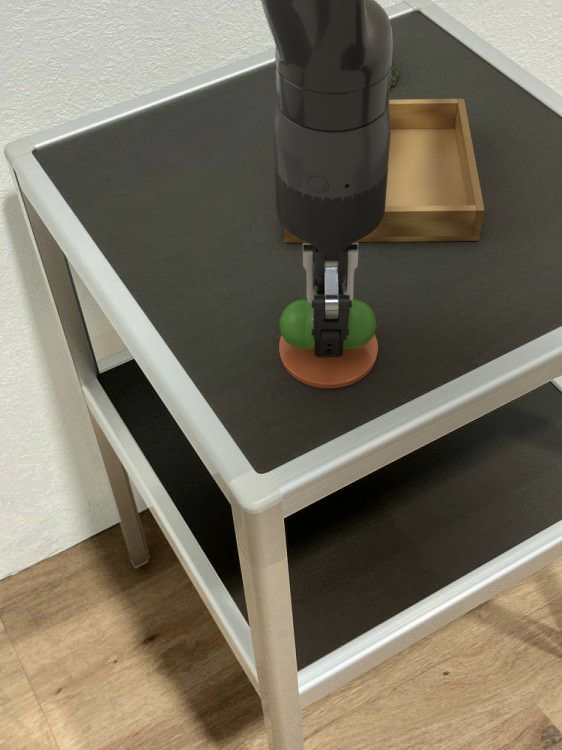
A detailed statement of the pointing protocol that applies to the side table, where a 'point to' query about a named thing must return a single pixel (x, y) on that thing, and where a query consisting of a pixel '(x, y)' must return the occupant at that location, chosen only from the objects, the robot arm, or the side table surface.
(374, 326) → the cucumber
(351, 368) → the plate
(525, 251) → the side table surface
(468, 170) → the wooden tray
